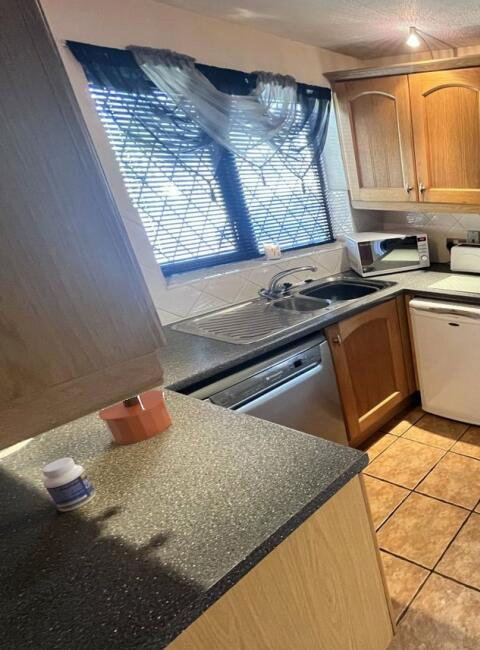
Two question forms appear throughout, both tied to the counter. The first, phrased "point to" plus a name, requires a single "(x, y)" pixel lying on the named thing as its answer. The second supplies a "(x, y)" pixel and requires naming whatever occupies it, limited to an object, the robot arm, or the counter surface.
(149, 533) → the counter surface
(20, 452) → the counter surface
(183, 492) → the counter surface
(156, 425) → the pot
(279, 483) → the counter surface
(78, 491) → the pill bottle
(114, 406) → the lid
